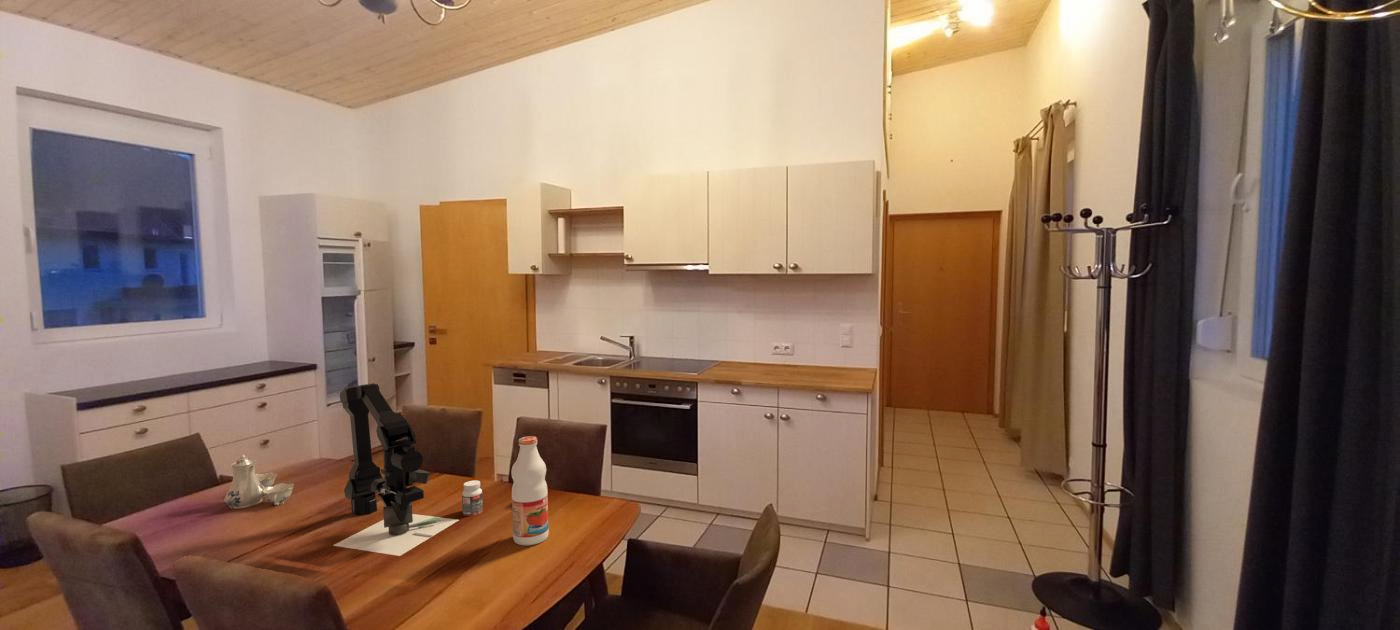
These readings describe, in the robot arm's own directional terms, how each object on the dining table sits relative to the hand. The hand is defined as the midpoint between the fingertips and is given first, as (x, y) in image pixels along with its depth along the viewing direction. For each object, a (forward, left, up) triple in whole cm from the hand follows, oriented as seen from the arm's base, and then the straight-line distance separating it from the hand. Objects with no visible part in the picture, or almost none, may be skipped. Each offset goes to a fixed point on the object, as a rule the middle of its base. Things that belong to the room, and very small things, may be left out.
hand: (398, 519), depth 157 cm
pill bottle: (+11, +17, -5) cm, 21 cm away
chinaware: (-66, +9, -5) cm, 66 cm away
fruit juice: (+37, +8, -5) cm, 38 cm away
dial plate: (0, 0, -5) cm, 5 cm away
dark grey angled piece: (+2, +2, -3) cm, 4 cm away
